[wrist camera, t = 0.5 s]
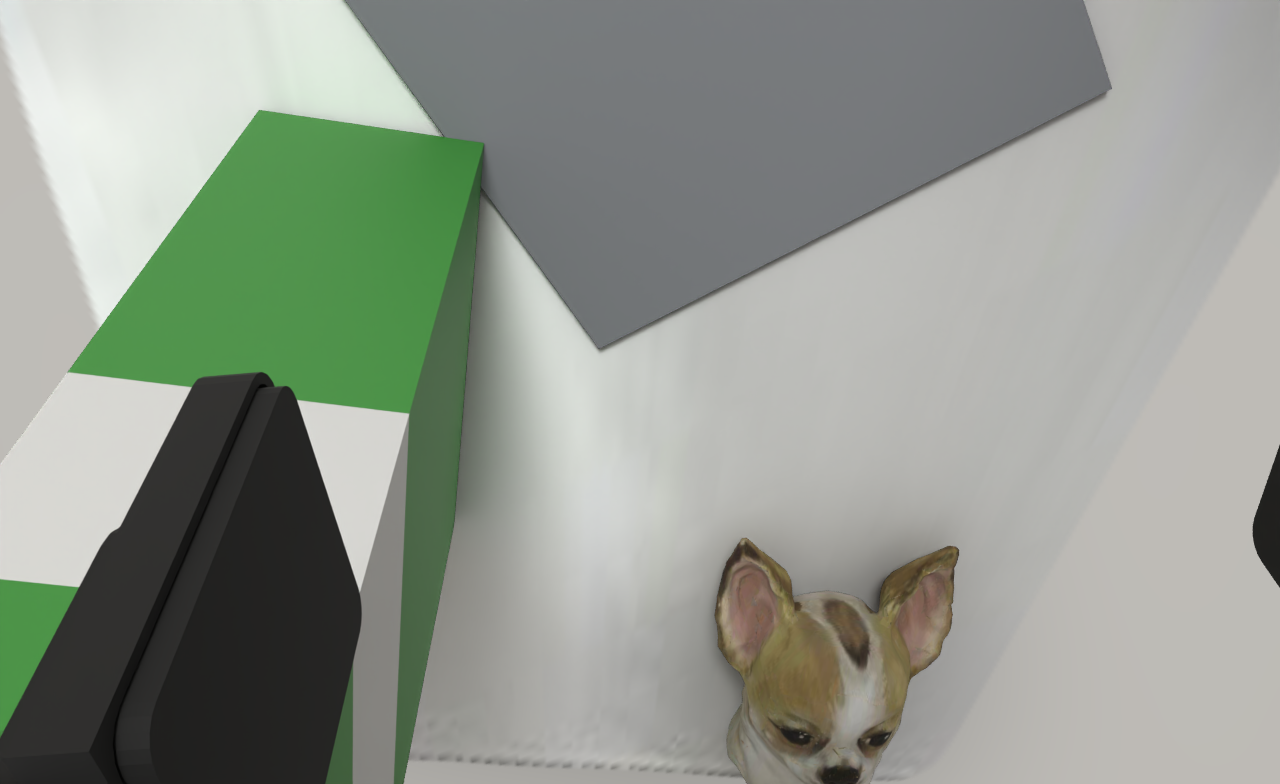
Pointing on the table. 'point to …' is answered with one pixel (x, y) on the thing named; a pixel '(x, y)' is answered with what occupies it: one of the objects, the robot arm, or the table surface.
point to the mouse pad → (720, 121)
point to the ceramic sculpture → (825, 665)
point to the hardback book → (291, 356)
